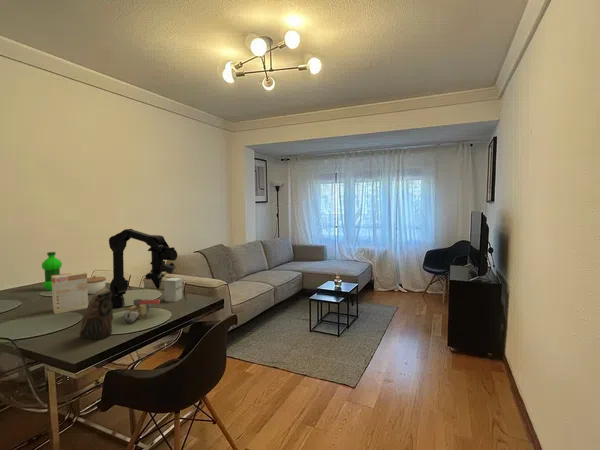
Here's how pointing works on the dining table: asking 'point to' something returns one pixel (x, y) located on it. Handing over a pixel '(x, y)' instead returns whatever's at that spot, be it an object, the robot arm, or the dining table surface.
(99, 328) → the owl
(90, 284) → the lidded bowl
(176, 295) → the supplement box
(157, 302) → the lever
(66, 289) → the coffeecake box
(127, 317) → the valve body
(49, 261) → the plastic bottle
